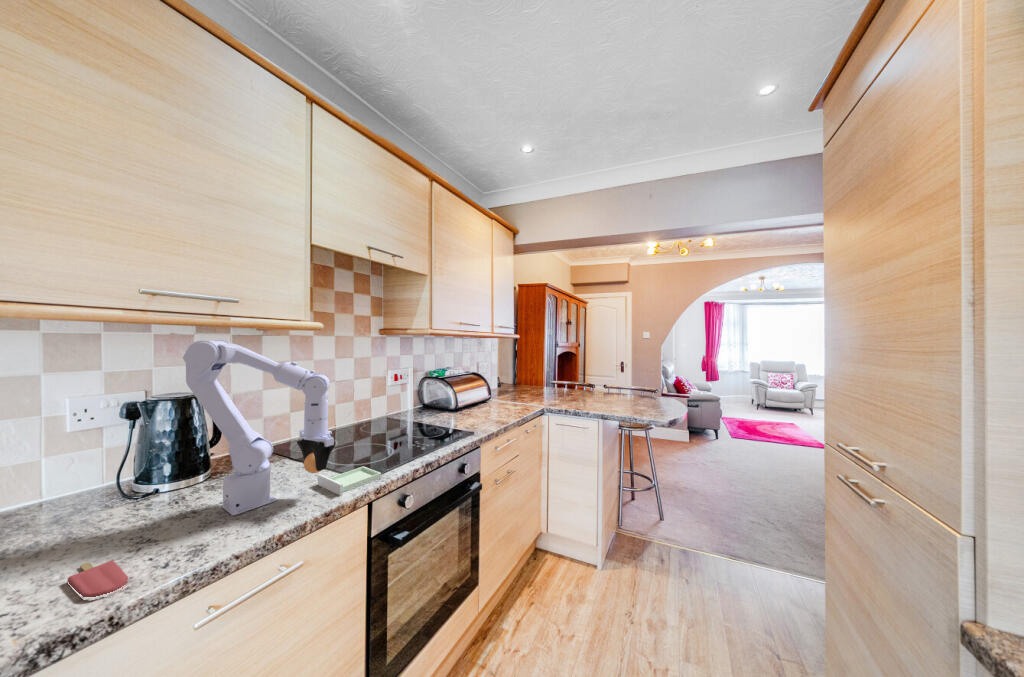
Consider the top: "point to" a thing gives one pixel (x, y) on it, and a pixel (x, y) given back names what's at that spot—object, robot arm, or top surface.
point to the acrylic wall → (330, 484)
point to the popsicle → (98, 579)
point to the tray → (356, 477)
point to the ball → (310, 464)
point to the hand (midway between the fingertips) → (315, 467)
